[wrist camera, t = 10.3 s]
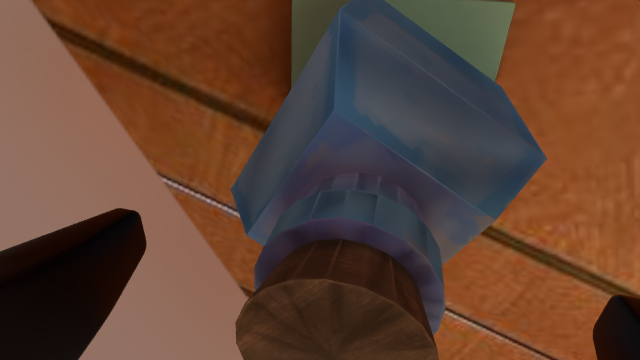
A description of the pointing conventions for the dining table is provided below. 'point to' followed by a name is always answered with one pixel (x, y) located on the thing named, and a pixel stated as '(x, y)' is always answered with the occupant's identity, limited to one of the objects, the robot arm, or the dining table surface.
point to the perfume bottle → (373, 191)
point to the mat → (427, 12)
